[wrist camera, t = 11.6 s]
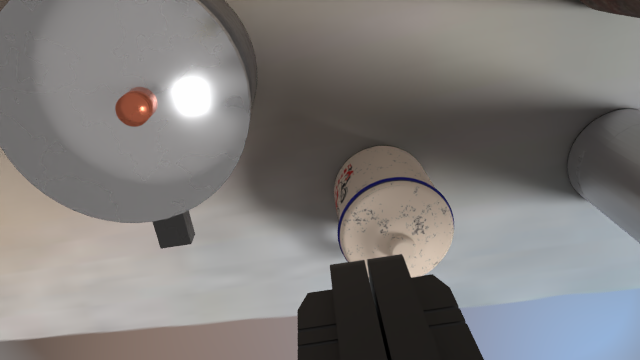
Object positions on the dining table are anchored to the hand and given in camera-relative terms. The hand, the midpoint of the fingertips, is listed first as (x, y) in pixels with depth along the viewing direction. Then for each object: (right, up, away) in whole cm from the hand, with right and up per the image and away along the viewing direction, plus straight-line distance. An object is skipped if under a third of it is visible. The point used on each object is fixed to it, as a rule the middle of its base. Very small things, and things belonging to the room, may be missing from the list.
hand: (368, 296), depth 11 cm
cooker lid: (-14, +8, +23) cm, 28 cm away
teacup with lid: (+5, 0, +38) cm, 38 cm away
